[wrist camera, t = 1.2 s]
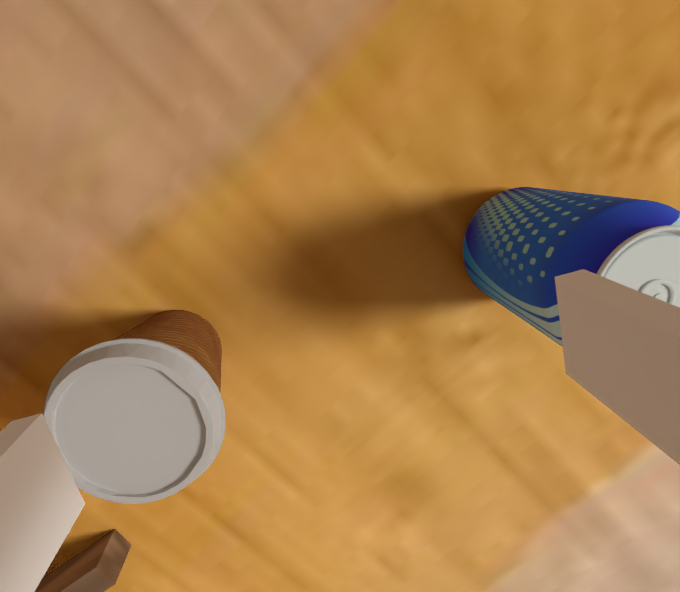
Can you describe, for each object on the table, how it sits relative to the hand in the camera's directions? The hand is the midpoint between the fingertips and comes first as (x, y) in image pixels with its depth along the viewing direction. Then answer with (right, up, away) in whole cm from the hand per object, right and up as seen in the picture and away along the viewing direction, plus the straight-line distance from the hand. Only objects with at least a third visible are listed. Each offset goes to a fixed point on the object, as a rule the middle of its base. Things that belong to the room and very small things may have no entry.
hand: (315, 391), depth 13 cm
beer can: (+14, +6, +25) cm, 30 cm away
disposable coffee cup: (-11, -2, +25) cm, 28 cm away
